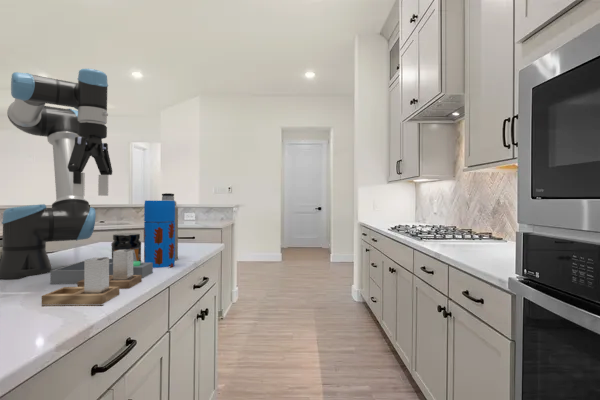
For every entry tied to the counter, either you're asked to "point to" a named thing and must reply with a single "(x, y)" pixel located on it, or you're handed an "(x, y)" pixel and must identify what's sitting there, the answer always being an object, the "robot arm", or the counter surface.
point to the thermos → (159, 233)
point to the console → (143, 269)
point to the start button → (136, 263)
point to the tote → (72, 273)
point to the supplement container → (127, 244)
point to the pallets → (78, 297)
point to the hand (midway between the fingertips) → (91, 195)
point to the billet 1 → (96, 275)
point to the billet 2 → (123, 264)
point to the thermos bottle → (171, 198)
